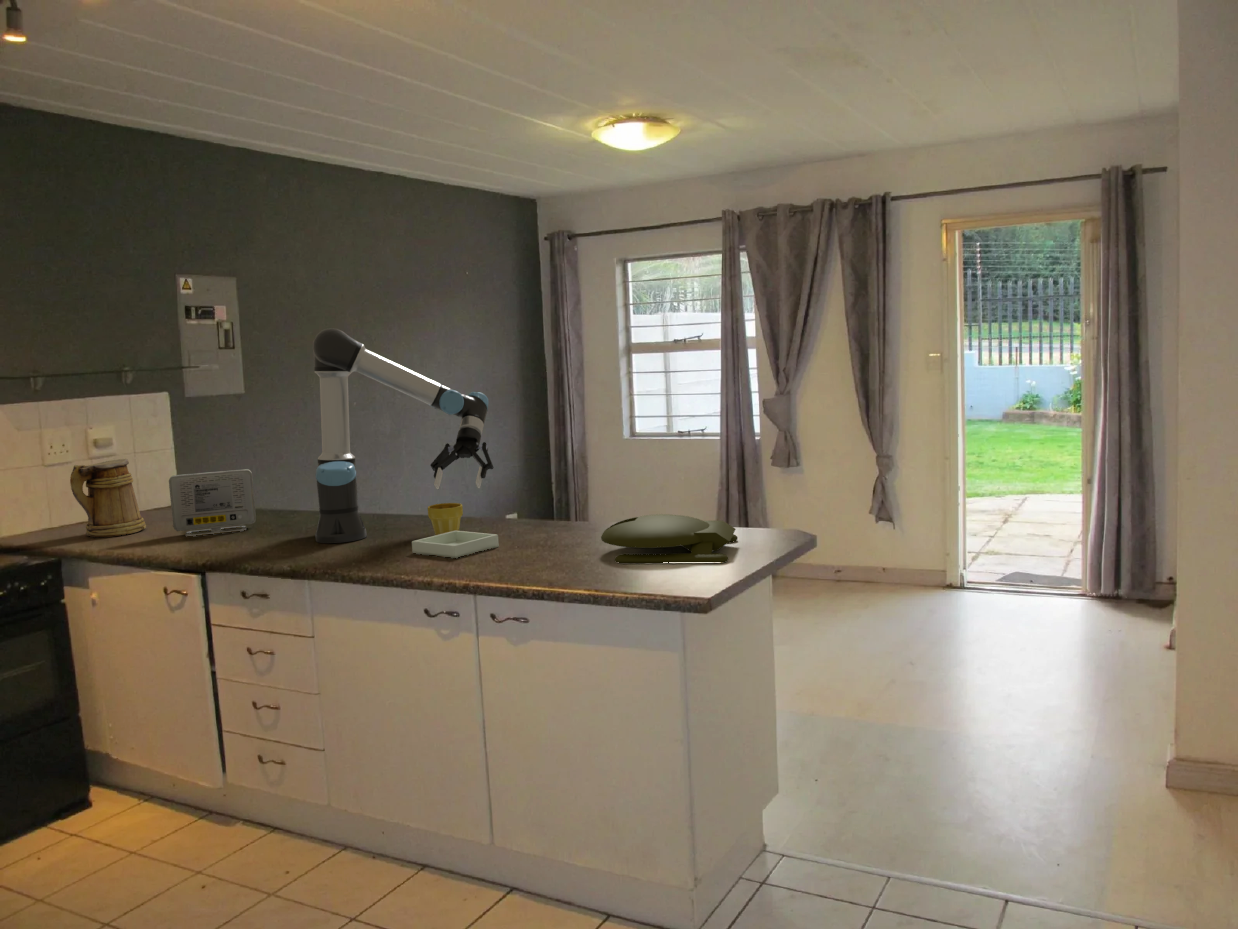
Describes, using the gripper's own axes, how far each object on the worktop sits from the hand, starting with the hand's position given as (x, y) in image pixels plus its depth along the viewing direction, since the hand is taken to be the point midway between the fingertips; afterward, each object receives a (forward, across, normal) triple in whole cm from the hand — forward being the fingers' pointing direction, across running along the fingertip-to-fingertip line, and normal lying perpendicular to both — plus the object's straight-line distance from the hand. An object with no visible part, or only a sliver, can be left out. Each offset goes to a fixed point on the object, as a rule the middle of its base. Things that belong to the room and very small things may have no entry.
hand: (456, 486), depth 308 cm
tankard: (+8, +127, -12) cm, 128 cm away
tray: (+31, -10, +11) cm, 34 cm away
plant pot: (+17, 0, -3) cm, 18 cm away
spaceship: (+34, -70, +13) cm, 79 cm away
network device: (+7, +88, -13) cm, 89 cm away
